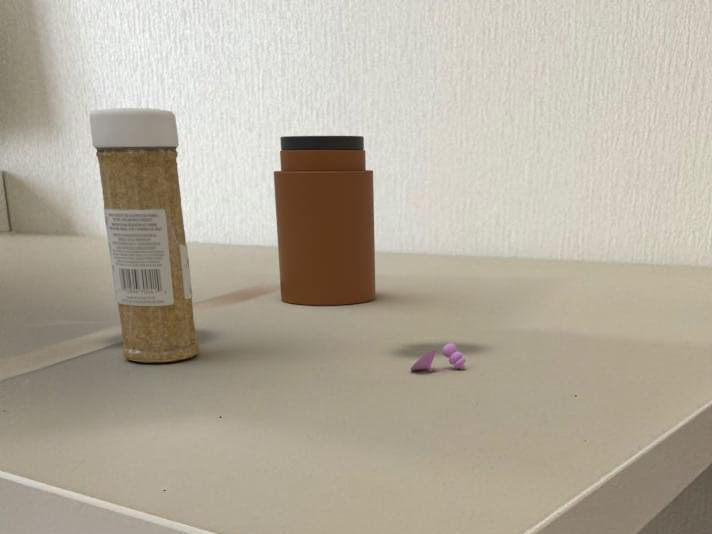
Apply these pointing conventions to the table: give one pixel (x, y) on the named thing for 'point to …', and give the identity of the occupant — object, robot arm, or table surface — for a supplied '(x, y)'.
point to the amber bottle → (325, 221)
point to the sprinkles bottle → (146, 232)
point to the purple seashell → (447, 351)
